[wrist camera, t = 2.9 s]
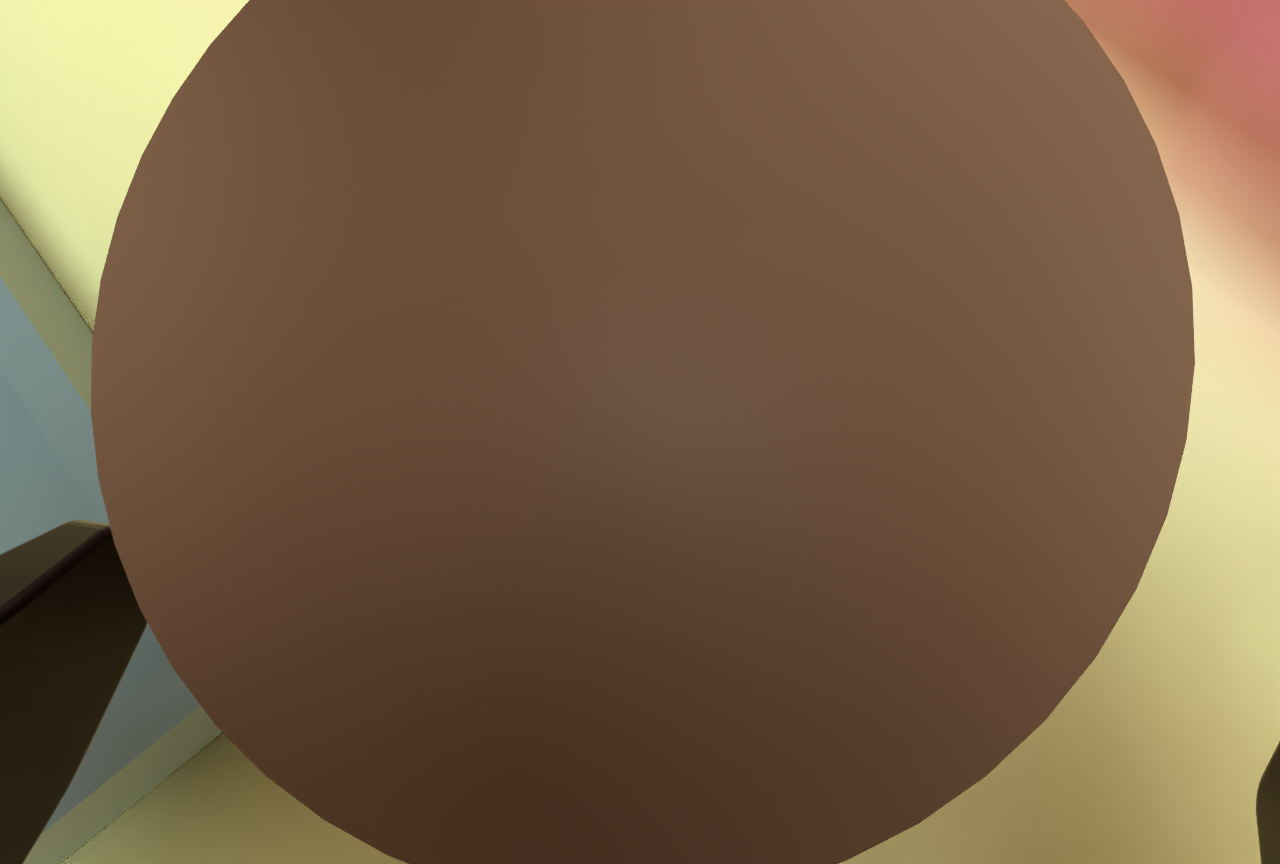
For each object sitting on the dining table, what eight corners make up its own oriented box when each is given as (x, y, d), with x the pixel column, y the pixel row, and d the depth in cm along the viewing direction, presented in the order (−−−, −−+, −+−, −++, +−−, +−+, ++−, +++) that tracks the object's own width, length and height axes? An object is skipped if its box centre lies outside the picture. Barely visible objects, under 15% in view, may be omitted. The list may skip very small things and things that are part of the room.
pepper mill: (722, 782, 17) (499, 1171, 5) (526, 525, 18) (-88, 265, 6) (978, 573, 17) (1469, 384, 5) (767, 330, 18) (691, -362, 6)
